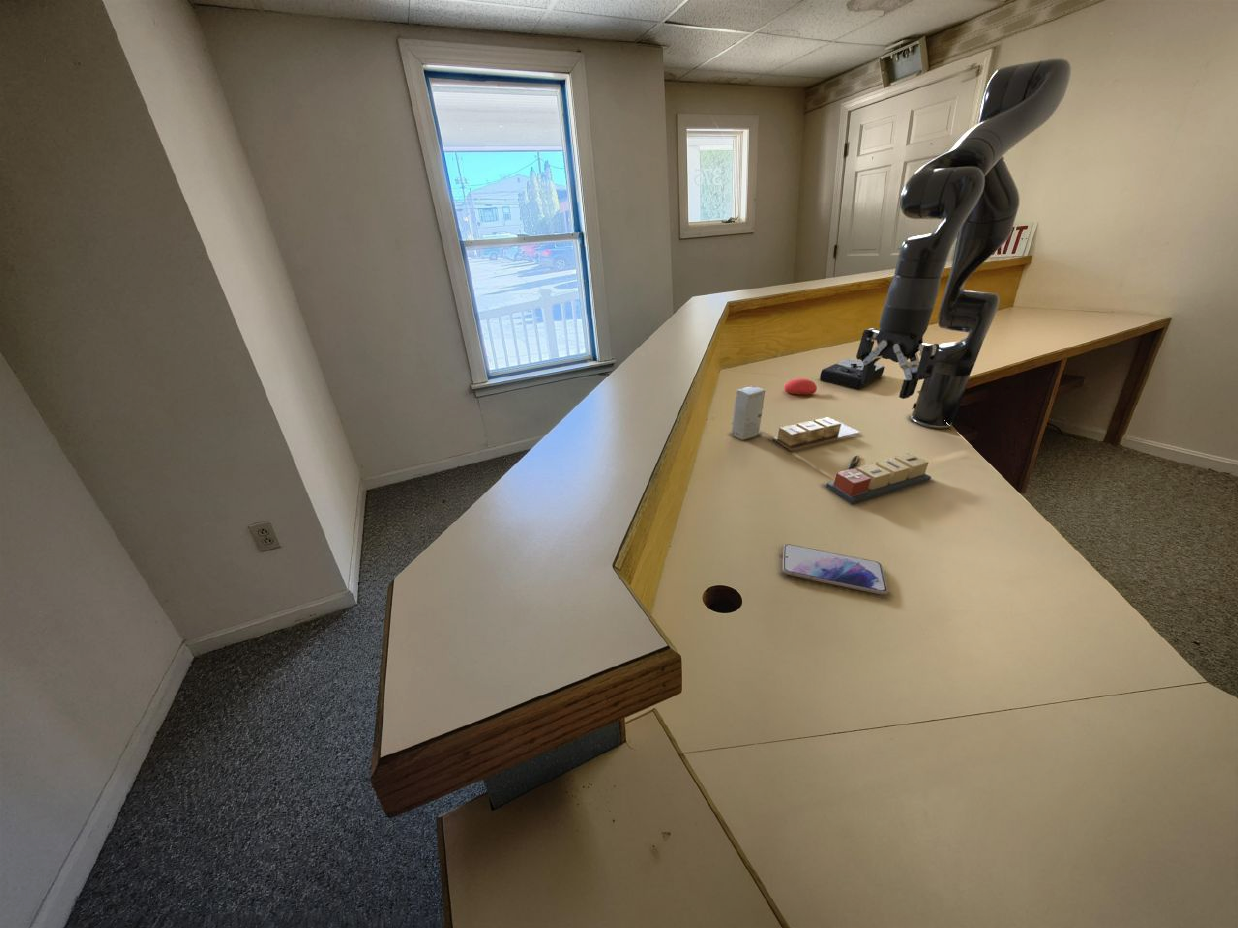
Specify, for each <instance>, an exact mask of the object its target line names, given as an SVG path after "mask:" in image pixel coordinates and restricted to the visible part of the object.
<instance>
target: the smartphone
mask: <svg viewBox="0 0 1238 928" xmlns="http://www.w3.org/2000/svg"><path fill="white" fill-rule="evenodd" d="M782 549H783V550H782V573H783V574H784V575H788V576H792V577H797V578H801V579H806V580H811V581H816V582H819V583H825V584H829V585H834V586H840V587H843V588H848V589H854V590H858V591H862V592H867V593H872V594H876V595H881V596H882V595H887V593H888V588H887V583H886V578H885V573H884V569H883V565H882V564H881V563H880V561H877V560H872V559H867V558H862V557H857V556H851V555H846V554H842V553H841V554H840V553H835V552H830V551H825V550H820V549H815V548H810V547H809V548H808V547H804V546H800V545H796V544H795V545H794V544H789V543H788V544H784V545H783V548H782Z"/></svg>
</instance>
